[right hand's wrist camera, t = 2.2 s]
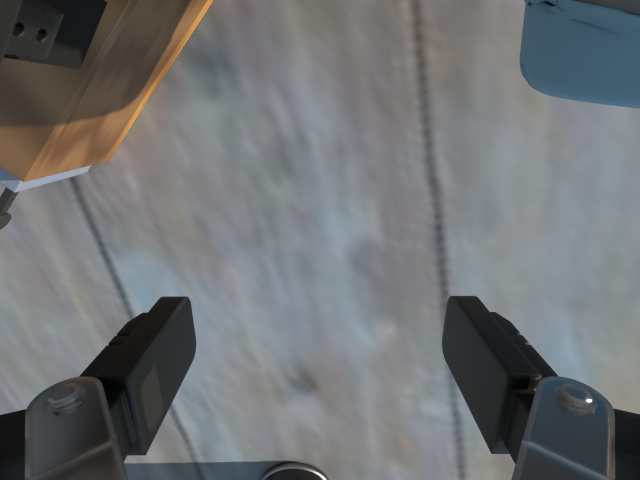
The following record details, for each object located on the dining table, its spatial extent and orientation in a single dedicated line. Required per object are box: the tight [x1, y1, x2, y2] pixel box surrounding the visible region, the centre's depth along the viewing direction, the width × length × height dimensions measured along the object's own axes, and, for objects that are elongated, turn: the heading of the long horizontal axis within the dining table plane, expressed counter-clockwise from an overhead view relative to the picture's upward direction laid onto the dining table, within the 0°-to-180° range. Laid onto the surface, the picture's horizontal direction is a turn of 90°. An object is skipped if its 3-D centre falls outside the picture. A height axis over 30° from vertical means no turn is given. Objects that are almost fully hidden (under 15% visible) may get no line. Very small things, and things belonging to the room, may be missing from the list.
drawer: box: [0, 165, 91, 229], centre depth 26 cm, size 24×9×8 cm, turn 139°
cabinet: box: [0, 0, 214, 182], centre depth 24 cm, size 20×10×10 cm, turn 139°
